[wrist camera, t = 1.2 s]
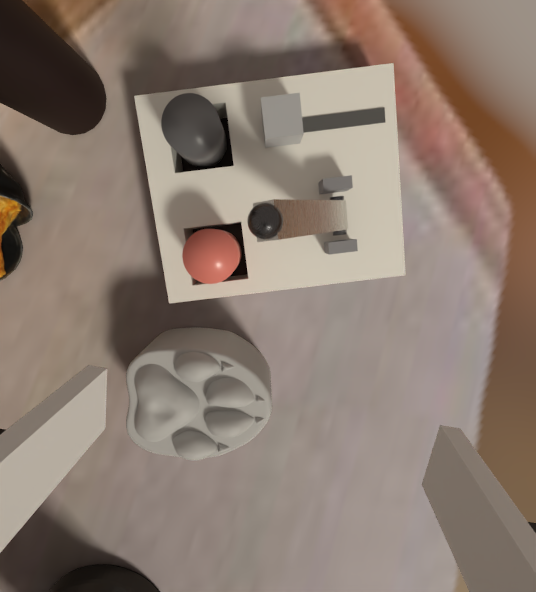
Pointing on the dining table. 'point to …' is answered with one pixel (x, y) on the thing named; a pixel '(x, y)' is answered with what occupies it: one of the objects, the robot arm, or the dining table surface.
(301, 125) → the slider knob
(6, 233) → the fried shrimp in bowl
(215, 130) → the button black
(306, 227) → the lever
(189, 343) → the lumpy-topped squat cylinder
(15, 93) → the bottle
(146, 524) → the dining table surface
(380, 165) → the panel
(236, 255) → the button red
